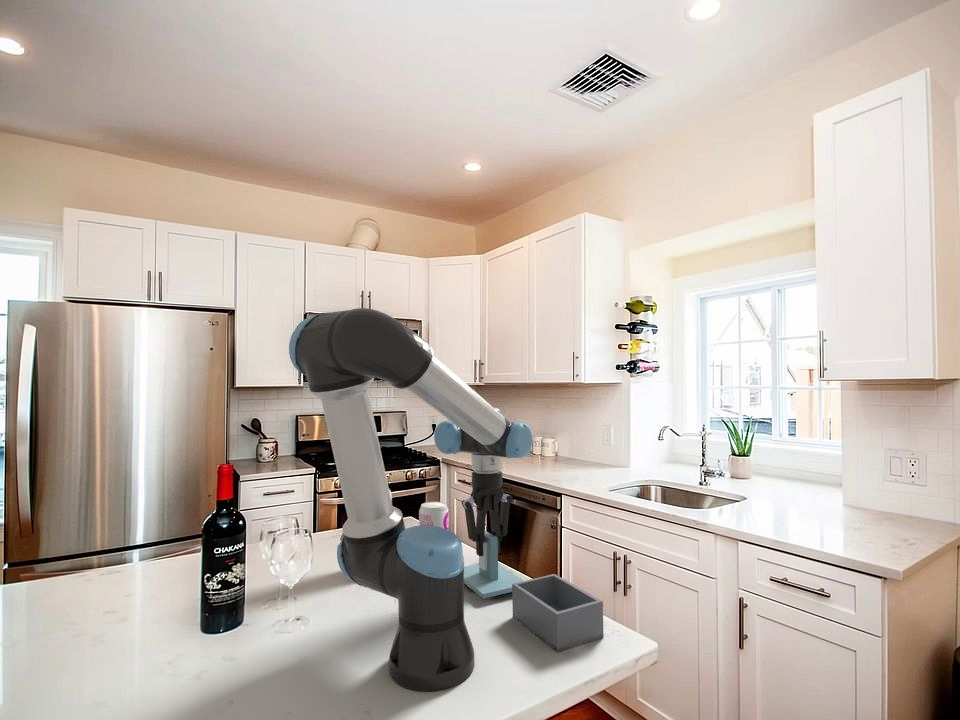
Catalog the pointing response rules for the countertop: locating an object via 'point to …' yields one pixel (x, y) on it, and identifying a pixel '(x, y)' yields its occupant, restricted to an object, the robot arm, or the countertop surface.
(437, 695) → the countertop surface
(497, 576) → the lid
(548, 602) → the parts tub
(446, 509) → the supplement can
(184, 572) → the countertop surface
